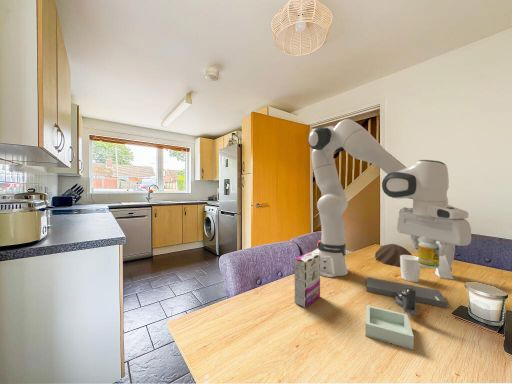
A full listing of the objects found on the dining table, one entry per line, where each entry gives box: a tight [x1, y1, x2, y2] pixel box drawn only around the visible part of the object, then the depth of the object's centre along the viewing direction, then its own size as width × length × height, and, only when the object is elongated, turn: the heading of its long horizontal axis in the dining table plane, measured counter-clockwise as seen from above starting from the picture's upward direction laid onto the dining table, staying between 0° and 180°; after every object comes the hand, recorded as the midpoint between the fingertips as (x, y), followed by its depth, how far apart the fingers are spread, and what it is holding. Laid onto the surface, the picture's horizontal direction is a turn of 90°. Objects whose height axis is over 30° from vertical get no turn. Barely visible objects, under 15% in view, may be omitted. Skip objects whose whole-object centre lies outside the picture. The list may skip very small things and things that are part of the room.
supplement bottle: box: [417, 236, 439, 269], centre depth 69 cm, size 5×5×10 cm
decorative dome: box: [374, 243, 413, 268], centre depth 123 cm, size 19×20×10 cm
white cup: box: [400, 255, 422, 283], centre depth 98 cm, size 8×8×10 cm
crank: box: [397, 288, 417, 315], centre depth 73 cm, size 14×5×8 cm, turn 152°
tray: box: [365, 304, 415, 351], centre depth 62 cm, size 11×11×4 cm
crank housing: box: [366, 277, 448, 309], centre depth 82 cm, size 25×17×2 cm
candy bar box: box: [293, 251, 321, 309], centre depth 79 cm, size 11×5×16 cm, turn 138°
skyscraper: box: [432, 241, 459, 281], centre depth 101 cm, size 8×8×28 cm
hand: (428, 252), depth 69 cm, fingers closed on supplement bottle, 5 cm apart
